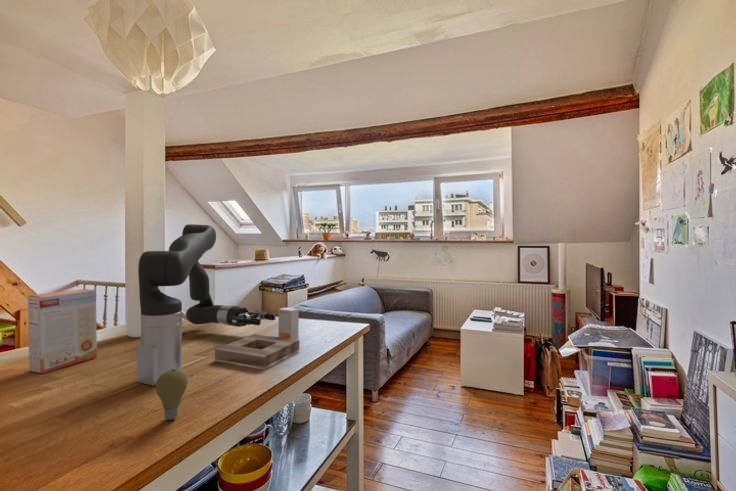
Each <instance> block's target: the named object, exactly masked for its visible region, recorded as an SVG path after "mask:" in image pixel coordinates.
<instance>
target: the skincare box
mask: <svg viewBox="0 0 736 491" xmlns="http://www.w3.org/2000/svg"><path fill="white" fill-rule="evenodd" d="M299 313H300V311H299V308H295V307H294V308H293V307H282V308H278V327H277V328H278V333H277V334H278V336H277V337H280V338H288V339H295V340H299V321H300V320H299V317H300V316H299Z"/></svg>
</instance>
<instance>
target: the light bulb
mask: <svg viewBox="0 0 736 491" xmlns="http://www.w3.org/2000/svg"><path fill="white" fill-rule="evenodd" d="M187 387H188V378H187V375H186V373H184V372H183V371H182V370H181V371H180V370H177V369H171V370H168V371H166V372H164V373H163V374H162V375H161V376H160V377H159V378H158V380H157V382H156V385H155V392H156V394H157V396H158V398H159V399H160V401H161V403H162V407H163V409H164V419H166V420H168V421H173V420H174V419H176V418H177V417H178V415H179V406H180V405H181V401H182V398H183V395H184V393H185V391H186V389H187Z"/></svg>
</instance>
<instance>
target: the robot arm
mask: <svg viewBox="0 0 736 491" xmlns="http://www.w3.org/2000/svg"><path fill="white" fill-rule="evenodd" d="M181 233H182V234H181V235H180V236H178V237H177V238H175V240H173V241H172V243H171V244H170V245H169V247H168V250H149V251H148V250H147V251H144V252H143V253H142V254H141V255H140V256H141V257H140V260H139V266H138V275H139V291H140V306H141V337H140V343H138V344H136V383H140V384H145V385H148V386H156V382H157V380H158V378H159V377H160V376H161V375H162V374H163V373H164V372H166V371H168V370H171V369H177V370H180V371H182V359H183V358H182V356H183V355H182V354H183V353H182V343H183V341H182V339H183V338H182V337H183V336H182V334H183V333H182V331H183V330H182V329H183V322H182V321H183V320H182V319H183V318H182V317H183V311H182V310H183V304H182V300H180V298H176V297H172V296H170V295H168V294H165V293H164V292H162V291H161V290H160V288H159V287H176V286H180V285H182V284H184V283H185V281H186V280H187V278H188V281H189V282H188V284H189V286H188V287H189V296H190V299H191V300H192V301H195V302H199V303H197V304H194V305H192V306H190V307H189V308H188V309H187V310H186V311H185V318H186V319H187V321H188V322H189V323H191V324H194V325H207V324H220V325H224V326H228V327H237V328H238V327H240V328H241V327H245V326H250V325H253V326H260V325H261V323H262V322H261V321H262V320H263V321H264V320H265V321H267V320H269V321H275V320H276V314H275V313H270V311H266V310H255V311H251V310H250V311H249V310H248V308H247V307H244V306H238V305H222V304H214V301H213V298H212V296H211V292H210V278H209V275H208V273H207V271H206V269H205V268H204V267H203V265H202V264H201V263H200V262H199V260H200V259H201V258H202V257H203V255H204V254H205V253H206V252H208V251H209V250H212V249H213V247H214V246H215V244H216V241H217V232H216V229H215V227H213V226H211V225H209V224H190V223H189V224H185V225H184V227H183V229H182V232H181Z"/></svg>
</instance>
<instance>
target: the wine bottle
mask: <svg viewBox="0 0 736 491" xmlns="http://www.w3.org/2000/svg"><path fill="white" fill-rule="evenodd" d="M140 257H141V255H137V256H136V262H137V264H136V279H135V281H134V284H133V287H132V290H131V293H130V295H129V298H128V300H127V303H126V335H127V337H130V338H141V306H140V291H139V275H138V266H139V260H140Z"/></svg>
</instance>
